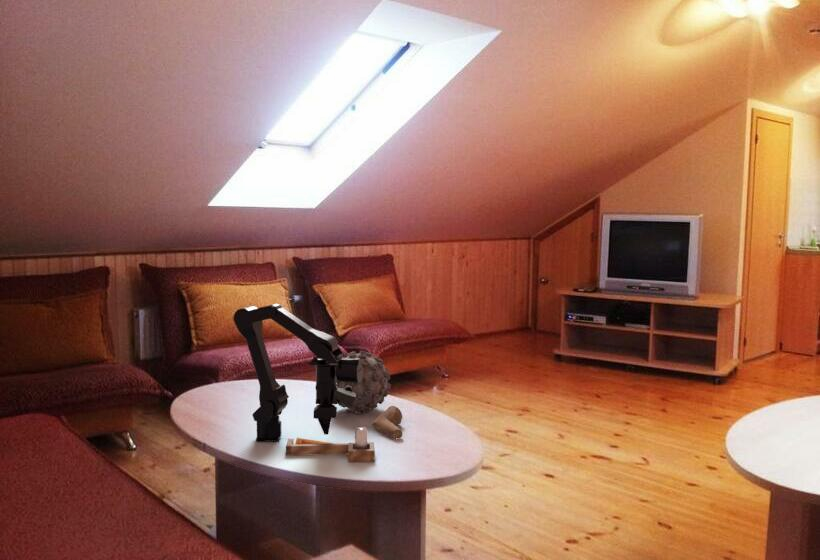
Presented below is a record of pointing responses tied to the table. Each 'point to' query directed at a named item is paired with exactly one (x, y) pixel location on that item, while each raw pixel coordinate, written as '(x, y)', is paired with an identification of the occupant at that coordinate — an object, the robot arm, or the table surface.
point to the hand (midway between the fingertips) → (326, 434)
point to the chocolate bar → (309, 441)
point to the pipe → (389, 422)
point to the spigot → (360, 438)
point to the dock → (333, 450)
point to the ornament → (368, 383)
